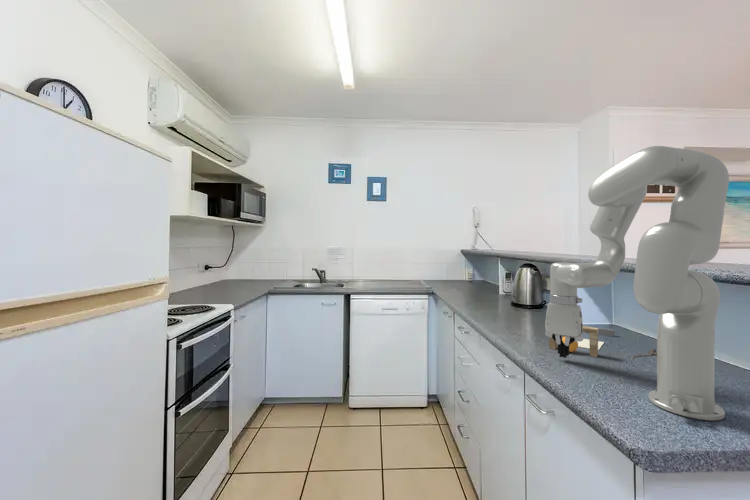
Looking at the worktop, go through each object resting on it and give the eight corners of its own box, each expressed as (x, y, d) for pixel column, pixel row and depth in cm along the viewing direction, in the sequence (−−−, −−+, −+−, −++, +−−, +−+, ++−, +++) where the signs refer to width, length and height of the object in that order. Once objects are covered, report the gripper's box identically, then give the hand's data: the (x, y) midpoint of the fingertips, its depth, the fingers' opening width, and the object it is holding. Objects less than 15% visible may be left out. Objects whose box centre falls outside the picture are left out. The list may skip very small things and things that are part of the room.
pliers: (631, 360, 103) (629, 345, 119) (631, 362, 103) (629, 347, 119) (671, 366, 97) (664, 350, 113) (671, 369, 97) (664, 352, 113)
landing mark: (598, 350, 114) (598, 349, 114) (557, 343, 123) (557, 342, 123) (604, 342, 124) (604, 342, 124) (566, 336, 132) (566, 335, 132)
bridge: (596, 357, 107) (596, 330, 107) (549, 348, 117) (549, 323, 117) (598, 355, 109) (598, 328, 109) (551, 346, 119) (551, 321, 119)
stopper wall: (613, 336, 132) (613, 330, 132) (569, 330, 143) (569, 324, 143) (614, 335, 133) (614, 329, 133) (570, 329, 144) (570, 323, 144)
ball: (577, 355, 112) (575, 351, 108) (560, 351, 116) (557, 347, 112) (580, 340, 114) (578, 335, 110) (562, 336, 118) (560, 332, 114)
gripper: (593, 301, 101) (593, 359, 101) (541, 296, 111) (542, 348, 111) (588, 304, 96) (588, 365, 96) (535, 299, 106) (535, 354, 106)
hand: (563, 356), depth 104 cm, fingers closed
